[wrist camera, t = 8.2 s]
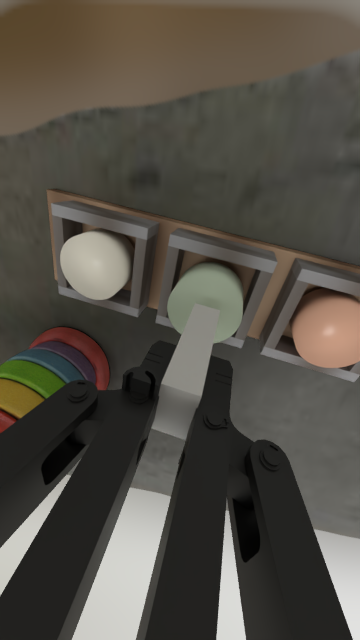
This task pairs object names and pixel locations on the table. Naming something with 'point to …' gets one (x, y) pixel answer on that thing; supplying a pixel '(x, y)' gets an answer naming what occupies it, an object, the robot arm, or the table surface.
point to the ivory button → (98, 263)
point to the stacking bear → (48, 371)
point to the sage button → (208, 297)
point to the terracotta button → (327, 328)
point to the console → (197, 247)
